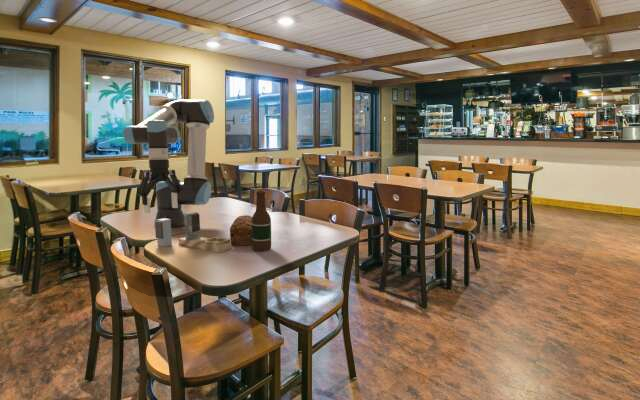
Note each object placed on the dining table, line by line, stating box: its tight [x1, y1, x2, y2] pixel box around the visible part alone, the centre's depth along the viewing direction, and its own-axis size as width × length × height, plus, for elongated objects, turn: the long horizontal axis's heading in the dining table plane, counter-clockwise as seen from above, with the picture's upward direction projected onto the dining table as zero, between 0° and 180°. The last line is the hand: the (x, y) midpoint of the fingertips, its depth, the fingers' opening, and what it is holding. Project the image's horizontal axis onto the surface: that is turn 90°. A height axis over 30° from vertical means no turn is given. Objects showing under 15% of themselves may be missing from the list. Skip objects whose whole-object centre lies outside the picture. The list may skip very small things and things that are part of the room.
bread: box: [229, 214, 253, 247], centre depth 176 cm, size 19×11×10 cm, turn 3°
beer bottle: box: [251, 190, 272, 253], centre depth 161 cm, size 8×8×24 cm
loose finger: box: [154, 218, 173, 247], centre depth 168 cm, size 5×4×11 cm
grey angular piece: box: [178, 211, 232, 253], centre depth 166 cm, size 23×7×14 cm, turn 60°
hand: (161, 210), depth 166 cm, fingers open, 13 cm apart
